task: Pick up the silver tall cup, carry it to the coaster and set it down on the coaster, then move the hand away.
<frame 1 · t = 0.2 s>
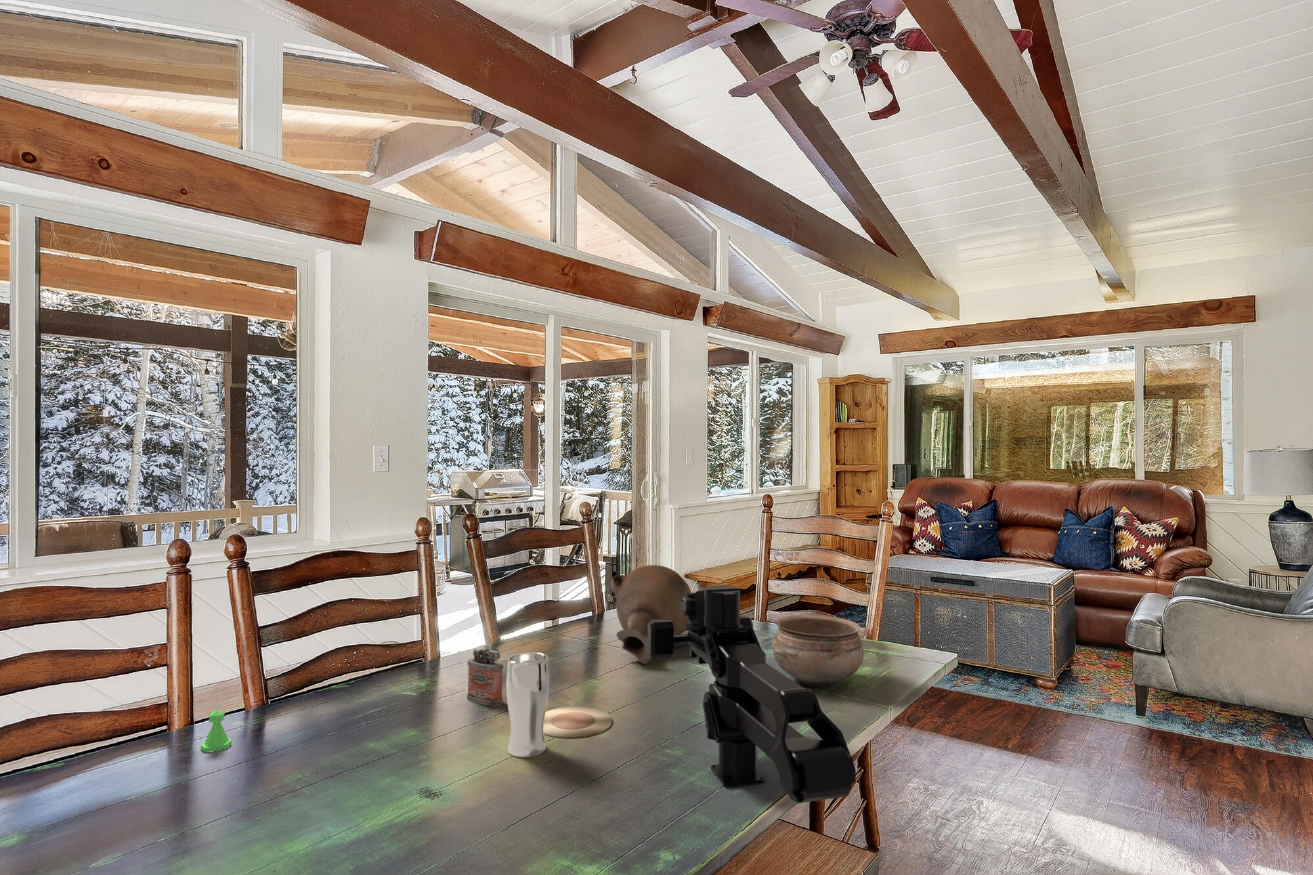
hand: (685, 625, 135), 17 cm above the table, fingers open, 9 cm apart
game piece: (216, 748, 119), on the table
jug: (648, 649, 179), on the table
lighter: (484, 701, 141), on the table
coaster: (572, 722, 131), on the table
cooking pot: (817, 683, 155), on the table
silver tall cup: (527, 751, 119), on the table
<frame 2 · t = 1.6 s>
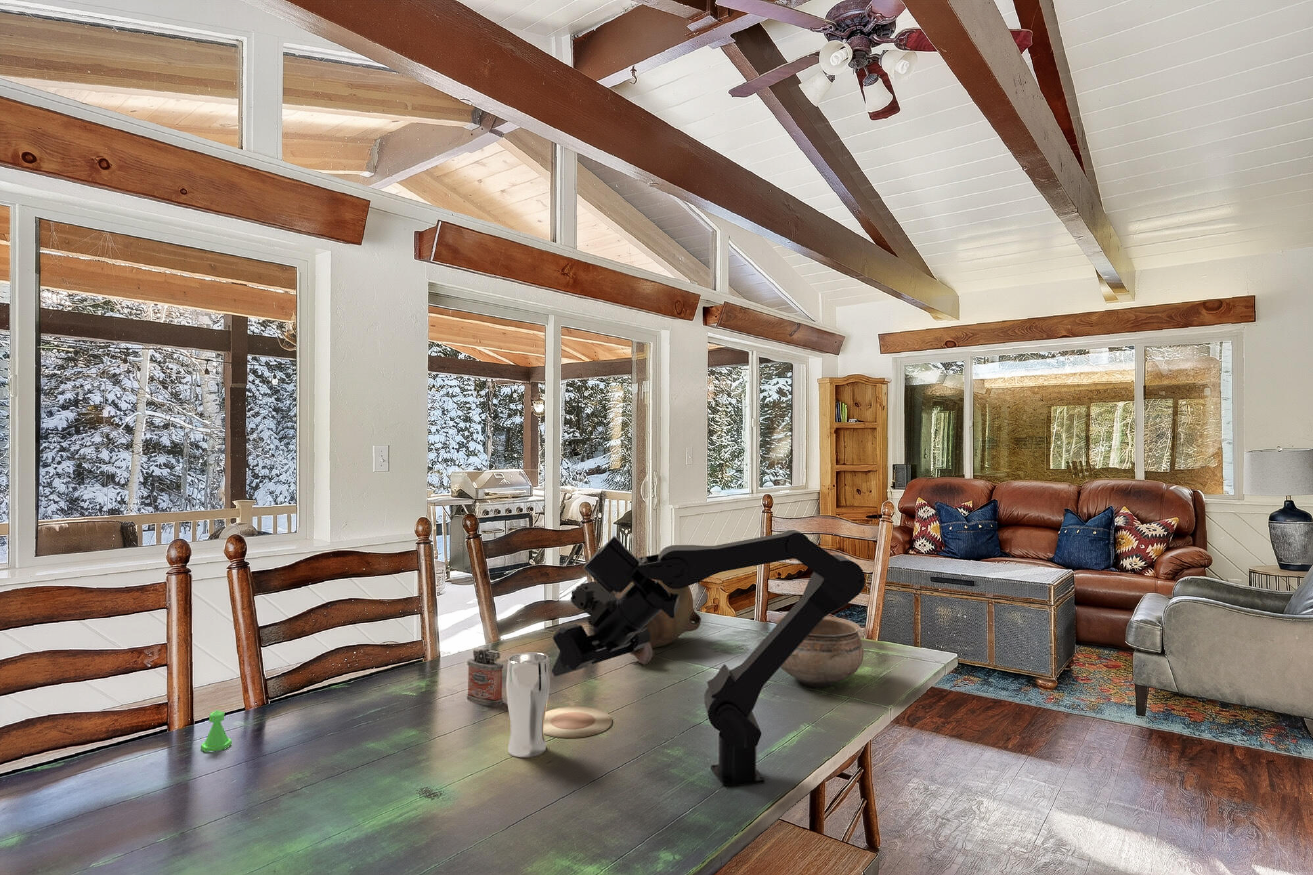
hand: (573, 667, 117), 14 cm above the table, fingers open, 9 cm apart
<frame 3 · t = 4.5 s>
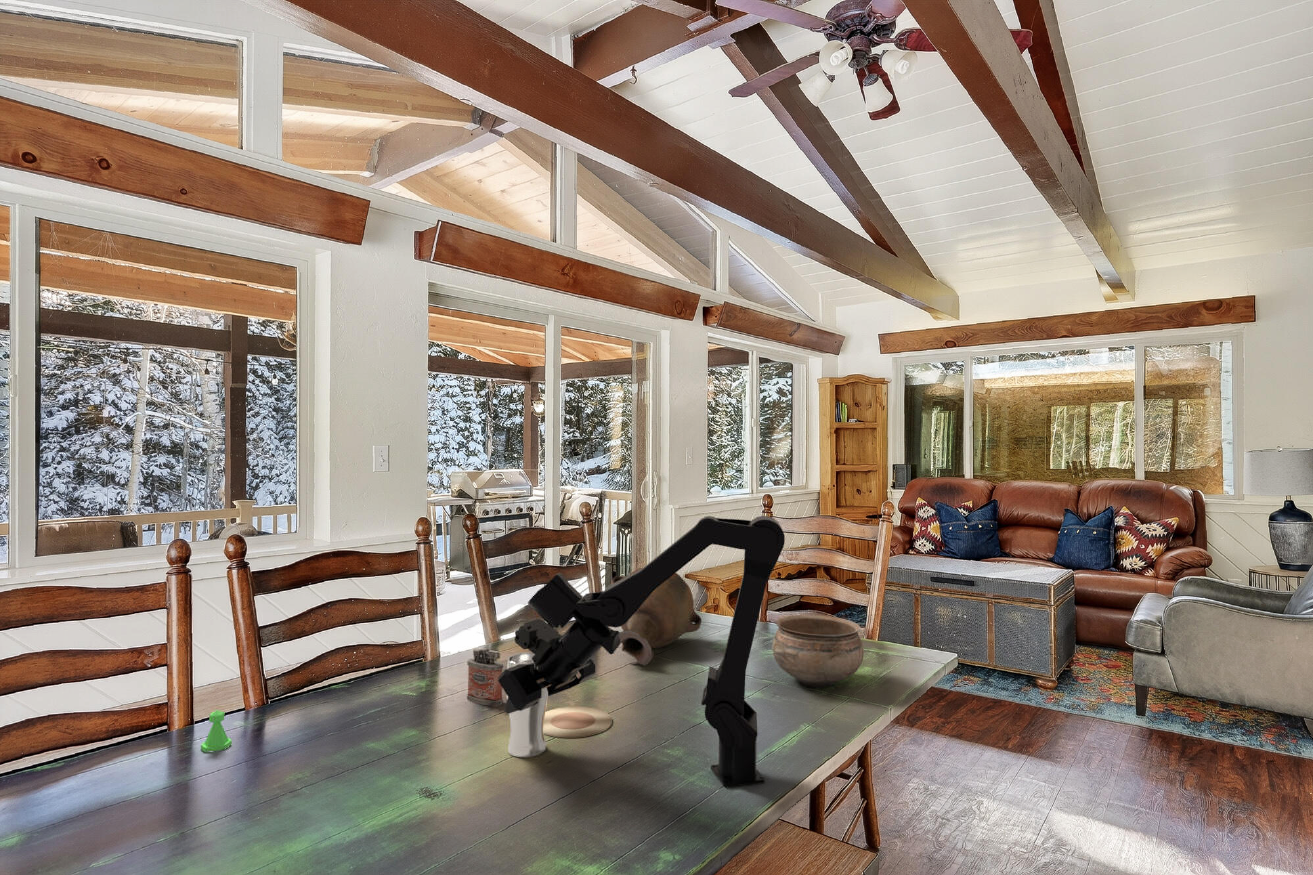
hand: (520, 704, 120), 7 cm above the table, fingers closed on silver tall cup, 7 cm apart
silver tall cup: (527, 750, 119), on the table, touching gripper
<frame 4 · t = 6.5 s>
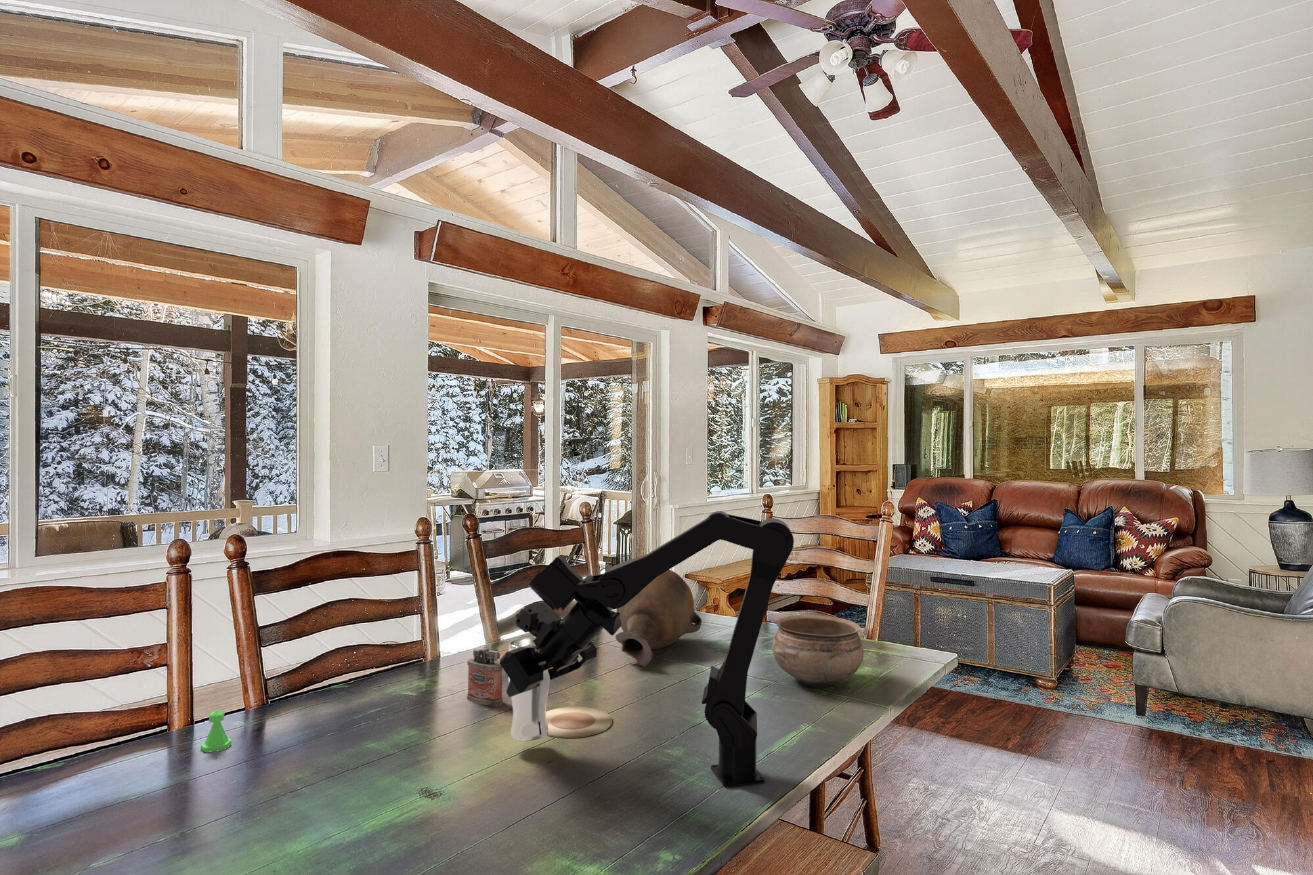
hand: (522, 688, 120), 10 cm above the table, fingers closed on silver tall cup, 7 cm apart
silver tall cup: (529, 735, 119), point 2 cm above the table, touching gripper
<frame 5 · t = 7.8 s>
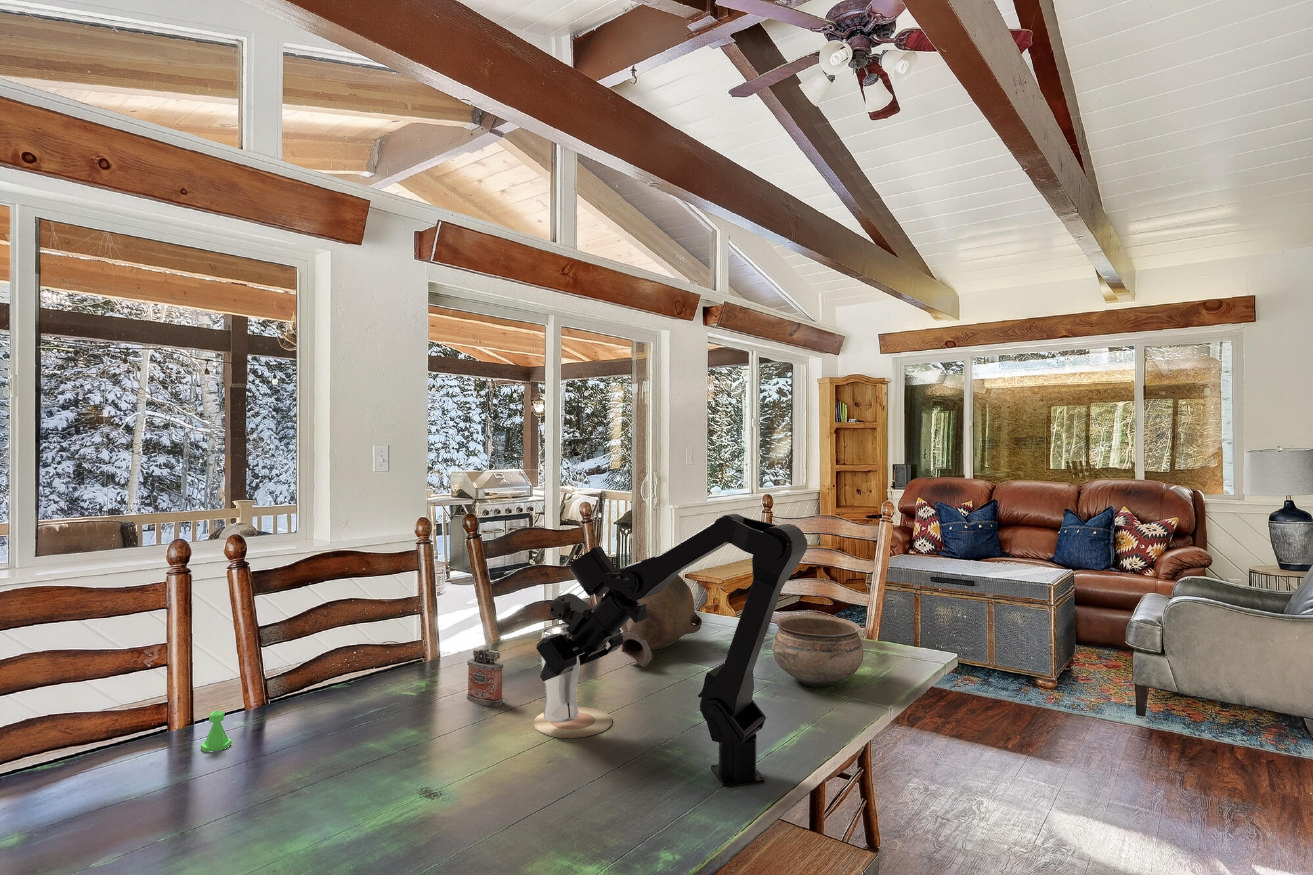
hand: (554, 673, 128), 10 cm above the table, fingers closed on silver tall cup, 7 cm apart
silver tall cup: (561, 717, 127), point 2 cm above the table, touching gripper
when the fingers open (8 cm above the table, at t = 10.2 s): silver tall cup stays where it is, resting on coaster.
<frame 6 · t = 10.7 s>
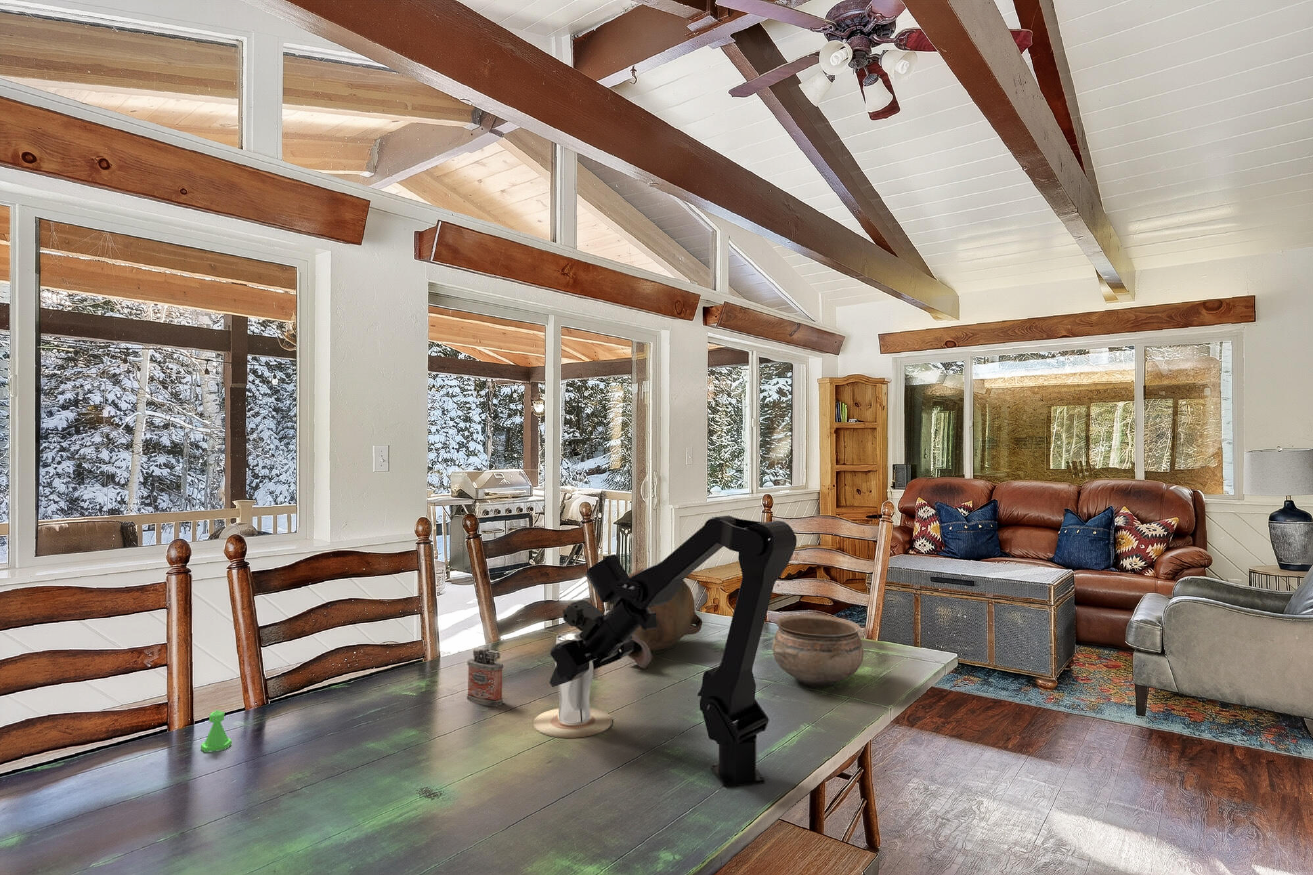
hand: (567, 677, 132), 8 cm above the table, fingers open, 9 cm apart
silver tall cup: (574, 721, 131), resting on coaster, touching gripper
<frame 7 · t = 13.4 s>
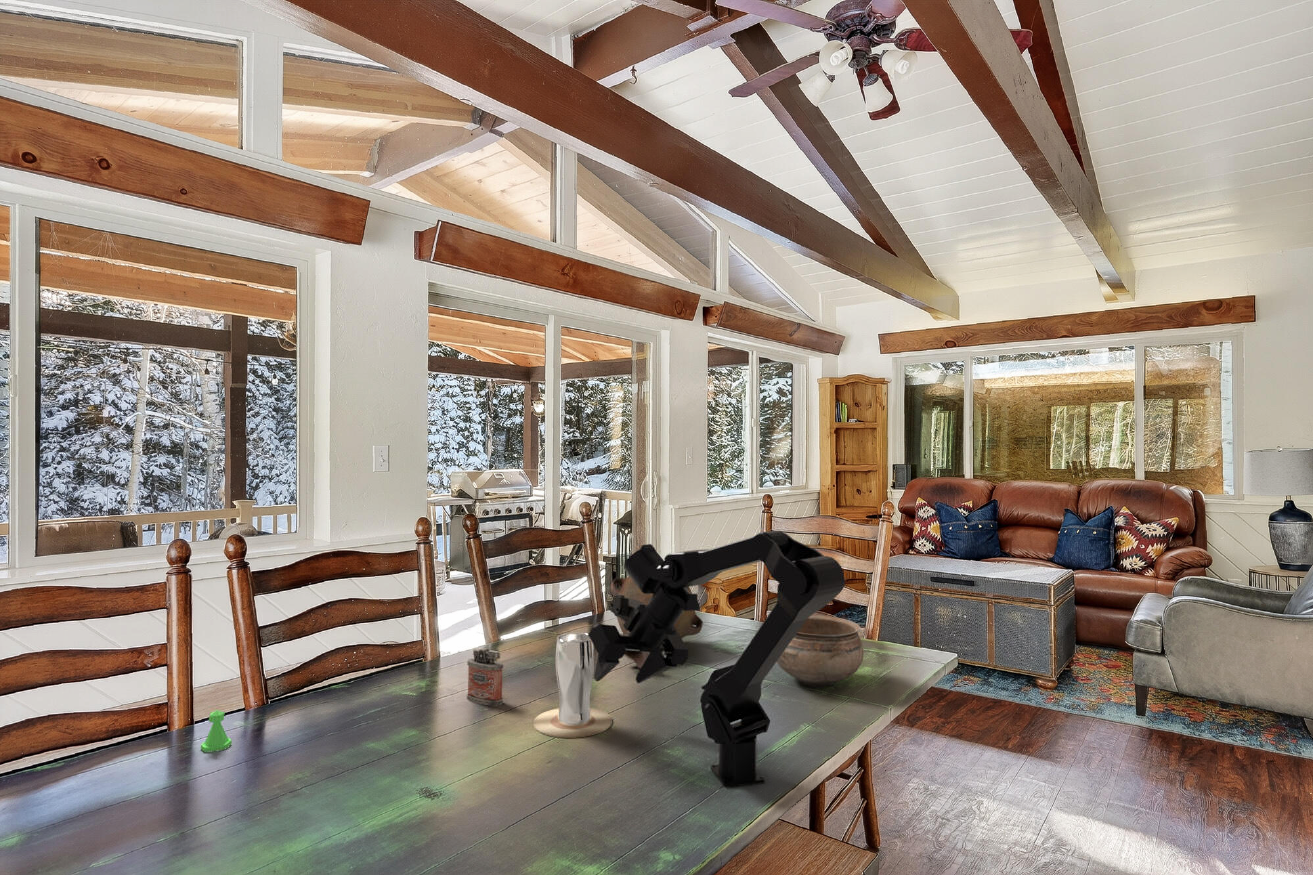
hand: (616, 680, 127), 9 cm above the table, fingers open, 9 cm apart
silver tall cup: (574, 721, 131), resting on coaster
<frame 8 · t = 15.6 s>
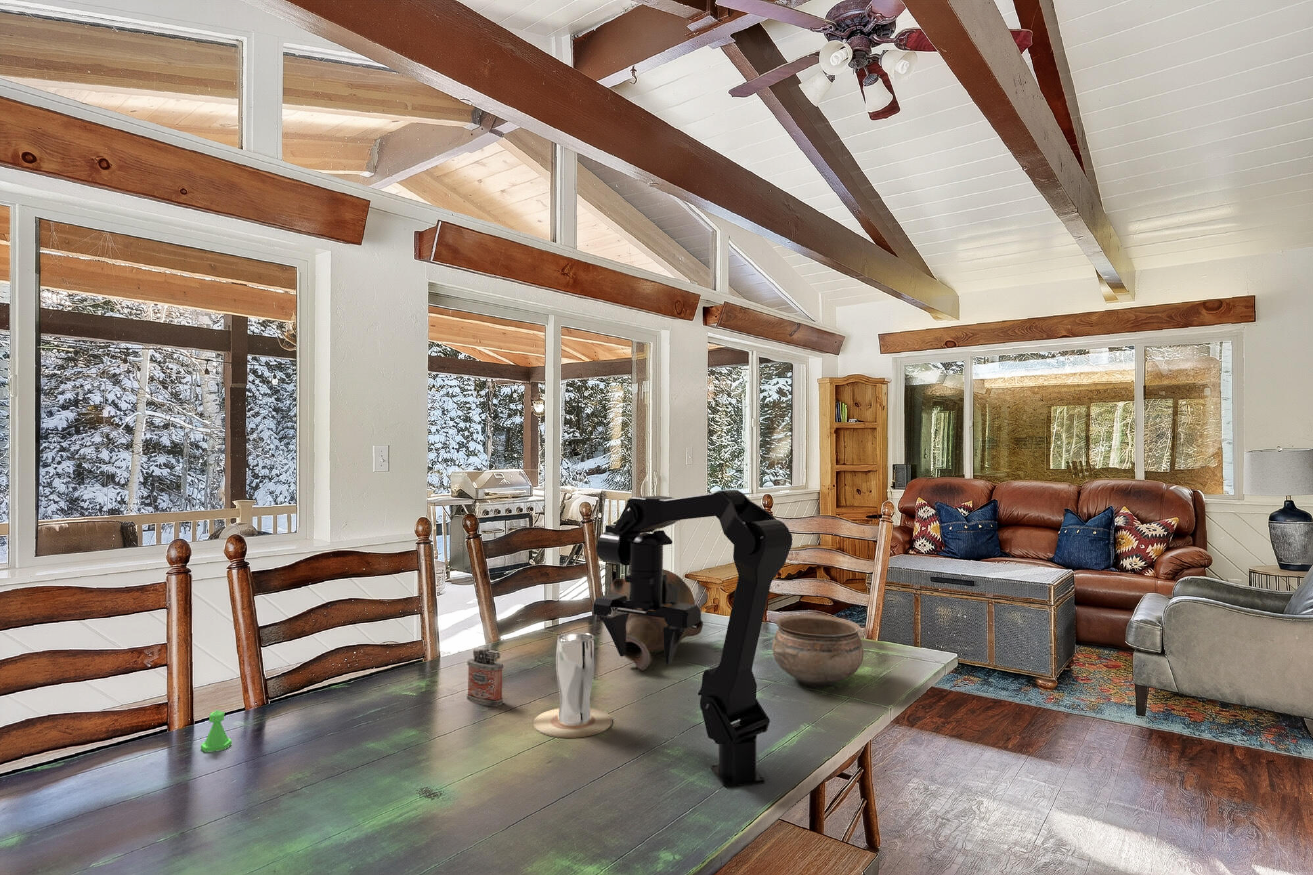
hand: (645, 660, 125), 13 cm above the table, fingers open, 9 cm apart
at the end: silver tall cup 0.4 cm off-centre on the coaster, point 0.2 cm above the coaster's base; silver tall cup tilted 0°; the gripper is holding nothing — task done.
